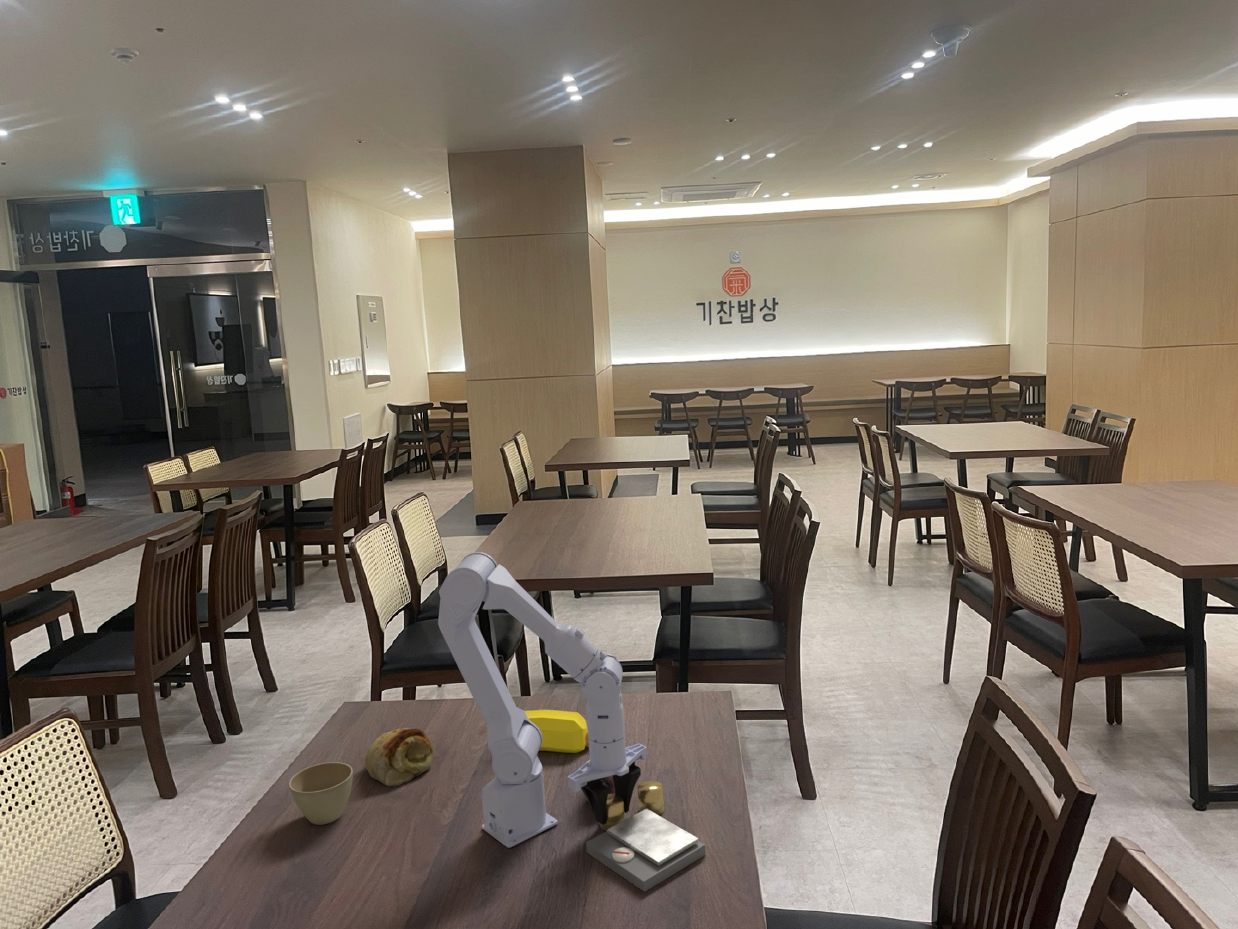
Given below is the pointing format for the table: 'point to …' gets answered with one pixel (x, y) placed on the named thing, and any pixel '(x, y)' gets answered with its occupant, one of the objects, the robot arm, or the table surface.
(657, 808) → the cylinder
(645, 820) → the pan
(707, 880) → the table surface
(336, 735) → the table surface
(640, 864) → the scale
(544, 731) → the yellow mustard bottle
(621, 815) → the cylinder
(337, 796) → the flower pot
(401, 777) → the pastry
